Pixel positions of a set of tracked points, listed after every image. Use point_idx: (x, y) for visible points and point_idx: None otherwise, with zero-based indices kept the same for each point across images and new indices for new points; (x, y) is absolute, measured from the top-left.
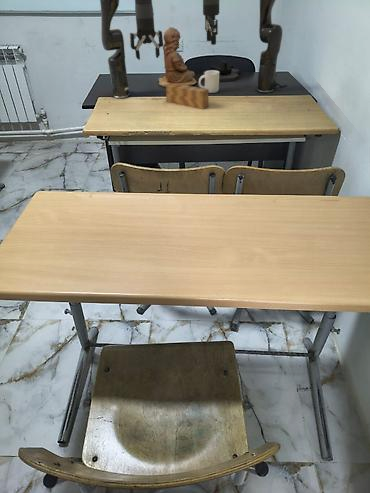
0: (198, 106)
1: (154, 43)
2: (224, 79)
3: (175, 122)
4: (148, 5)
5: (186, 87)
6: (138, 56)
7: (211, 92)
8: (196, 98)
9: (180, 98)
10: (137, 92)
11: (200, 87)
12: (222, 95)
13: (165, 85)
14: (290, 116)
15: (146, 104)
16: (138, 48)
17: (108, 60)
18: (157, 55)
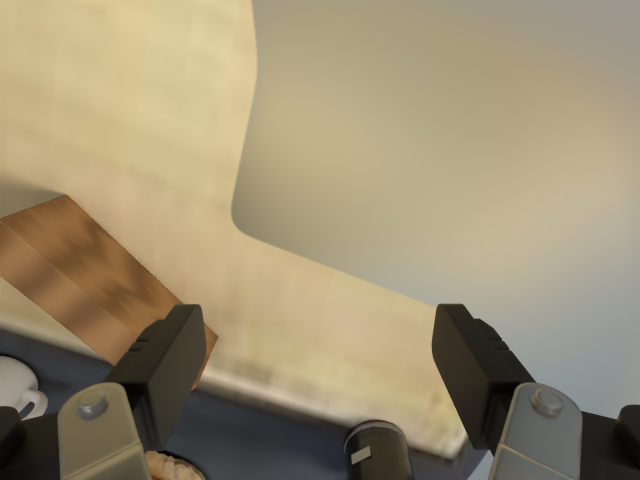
0: (84, 218)
1: (128, 460)
2: None
3: (229, 74)
4: None
5: (93, 320)
6: (474, 323)
7: (8, 358)
8: (70, 239)
9: (153, 300)
10: (308, 455)
11: (45, 396)
12: None
13: (191, 472)
14: None
15: (306, 336)
16: (526, 410)
17: None
18: (180, 315)
